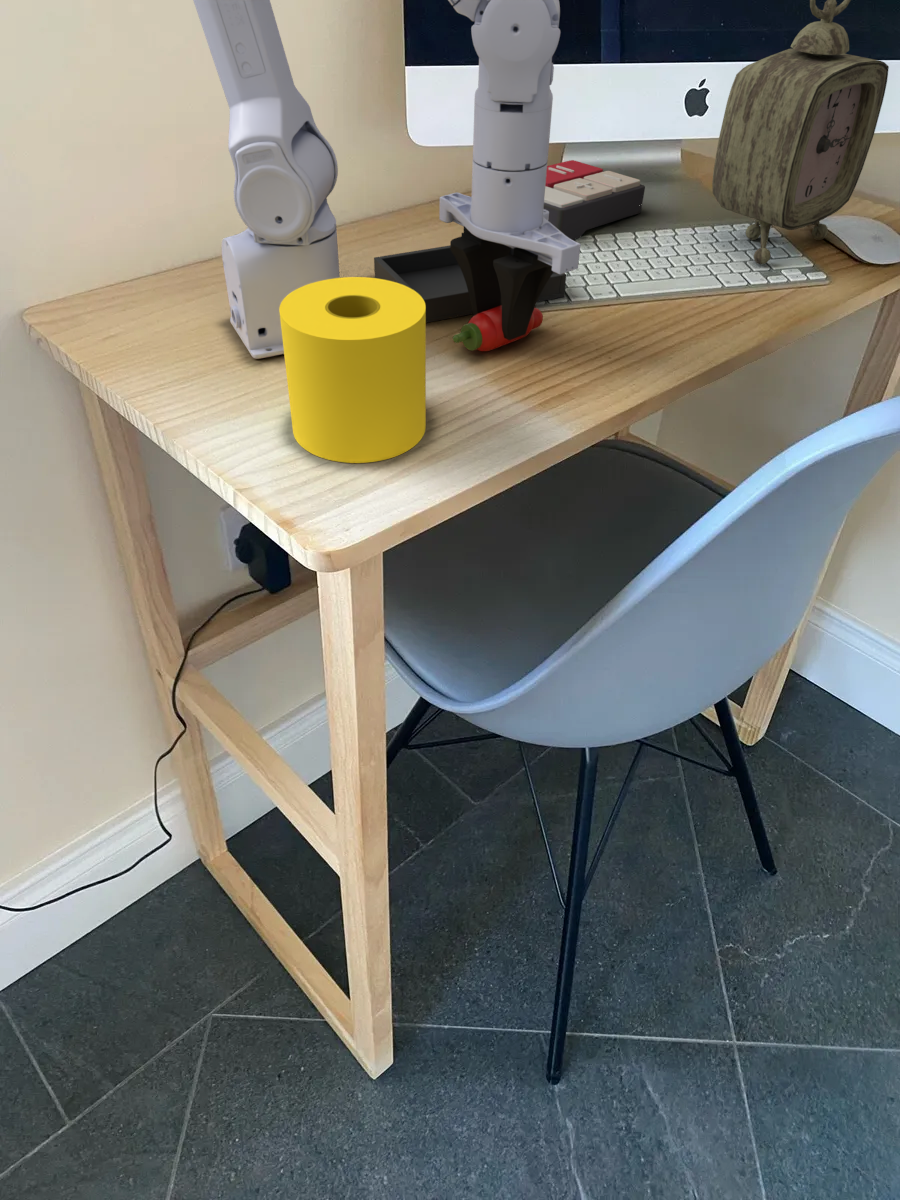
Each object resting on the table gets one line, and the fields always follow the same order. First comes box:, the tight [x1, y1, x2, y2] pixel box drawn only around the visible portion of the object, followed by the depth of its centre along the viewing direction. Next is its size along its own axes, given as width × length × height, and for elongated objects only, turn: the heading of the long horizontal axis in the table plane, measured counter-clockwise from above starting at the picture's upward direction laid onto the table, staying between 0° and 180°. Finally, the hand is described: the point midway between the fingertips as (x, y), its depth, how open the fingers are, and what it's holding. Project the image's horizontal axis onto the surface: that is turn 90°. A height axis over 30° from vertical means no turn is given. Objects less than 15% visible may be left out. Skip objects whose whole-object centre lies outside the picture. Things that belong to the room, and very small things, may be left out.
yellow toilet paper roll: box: [279, 276, 427, 464], centre depth 66 cm, size 10×10×9 cm
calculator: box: [544, 159, 646, 241], centre depth 102 cm, size 11×4×15 cm
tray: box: [373, 245, 567, 323], centre depth 87 cm, size 15×11×2 cm
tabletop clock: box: [711, 0, 890, 265], centre depth 89 cm, size 14×9×25 cm, turn 131°
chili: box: [452, 305, 544, 352], centre depth 78 cm, size 10×3×3 cm, turn 130°
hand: (500, 328), depth 78 cm, fingers closed on chili, 3 cm apart
